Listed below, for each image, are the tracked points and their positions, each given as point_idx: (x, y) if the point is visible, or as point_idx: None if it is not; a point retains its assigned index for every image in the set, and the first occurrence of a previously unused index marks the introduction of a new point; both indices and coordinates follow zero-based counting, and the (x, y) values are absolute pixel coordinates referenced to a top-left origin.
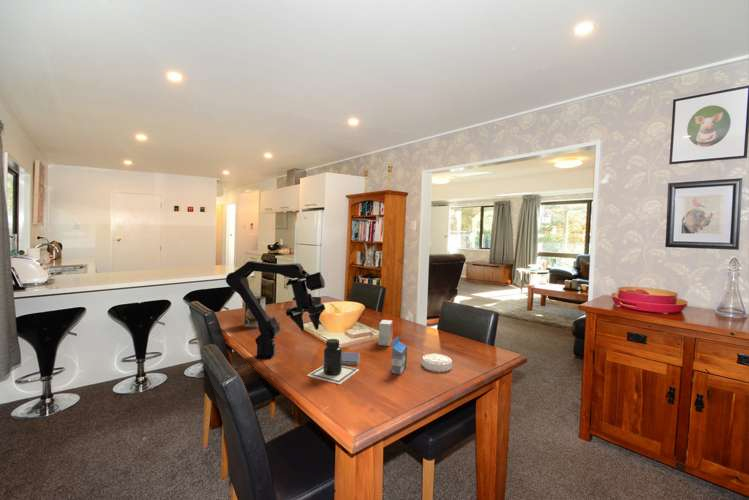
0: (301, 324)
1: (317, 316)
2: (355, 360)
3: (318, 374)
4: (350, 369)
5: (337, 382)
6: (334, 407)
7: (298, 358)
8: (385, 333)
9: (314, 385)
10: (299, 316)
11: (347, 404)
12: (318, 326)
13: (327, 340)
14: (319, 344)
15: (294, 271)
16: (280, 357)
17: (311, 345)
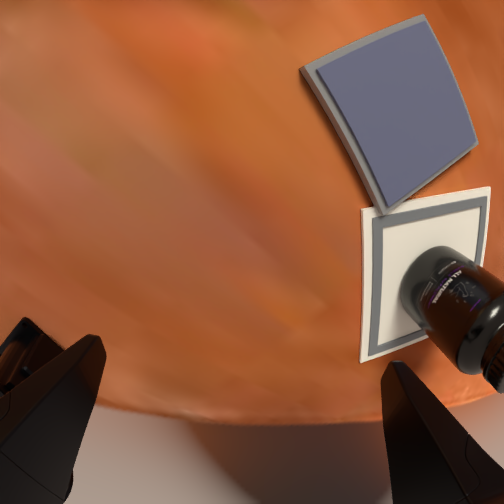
0: (72, 404)
1: (480, 500)
2: (467, 131)
3: (393, 331)
4: (470, 209)
5: None
6: (478, 379)
7: (167, 278)
8: None
9: None
10: (9, 491)
11: None
12: (418, 380)
13: (502, 384)
14: (69, 11)
15: None
16: (90, 331)
17: (40, 64)
